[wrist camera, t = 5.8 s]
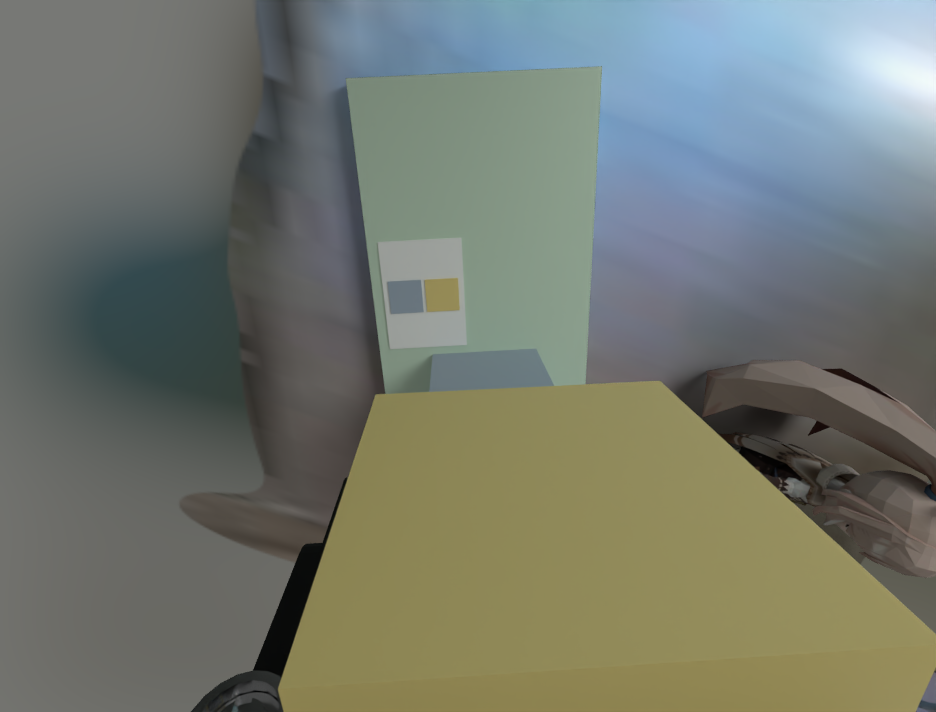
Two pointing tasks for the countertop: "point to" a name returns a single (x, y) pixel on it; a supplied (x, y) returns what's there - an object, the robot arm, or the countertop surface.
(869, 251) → the countertop surface
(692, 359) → the countertop surface
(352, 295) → the countertop surface
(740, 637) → the brick
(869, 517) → the toy
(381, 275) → the board
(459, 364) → the base brick
